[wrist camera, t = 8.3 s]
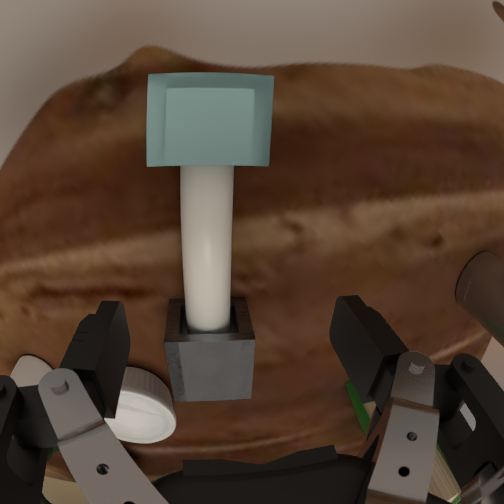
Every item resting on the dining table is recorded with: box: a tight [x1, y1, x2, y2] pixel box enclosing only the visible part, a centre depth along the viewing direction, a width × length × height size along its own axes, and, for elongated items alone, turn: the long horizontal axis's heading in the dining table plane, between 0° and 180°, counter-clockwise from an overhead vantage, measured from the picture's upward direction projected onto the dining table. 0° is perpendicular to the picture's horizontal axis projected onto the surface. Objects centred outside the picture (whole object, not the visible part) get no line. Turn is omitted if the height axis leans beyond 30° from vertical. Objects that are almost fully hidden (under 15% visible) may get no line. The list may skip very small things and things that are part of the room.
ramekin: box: [104, 367, 176, 443], centre depth 32 cm, size 11×11×5 cm
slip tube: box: [180, 165, 234, 334], centre depth 25 cm, size 4×22×4 cm, turn 177°
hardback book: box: [345, 381, 461, 504], centre depth 33 cm, size 18×7×24 cm, turn 24°
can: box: [10, 355, 53, 387], centre depth 26 cm, size 6×6×12 cm
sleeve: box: [164, 298, 256, 401], centre depth 29 cm, size 8×8×6 cm
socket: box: [147, 73, 274, 167], centre depth 20 cm, size 8×6×6 cm
